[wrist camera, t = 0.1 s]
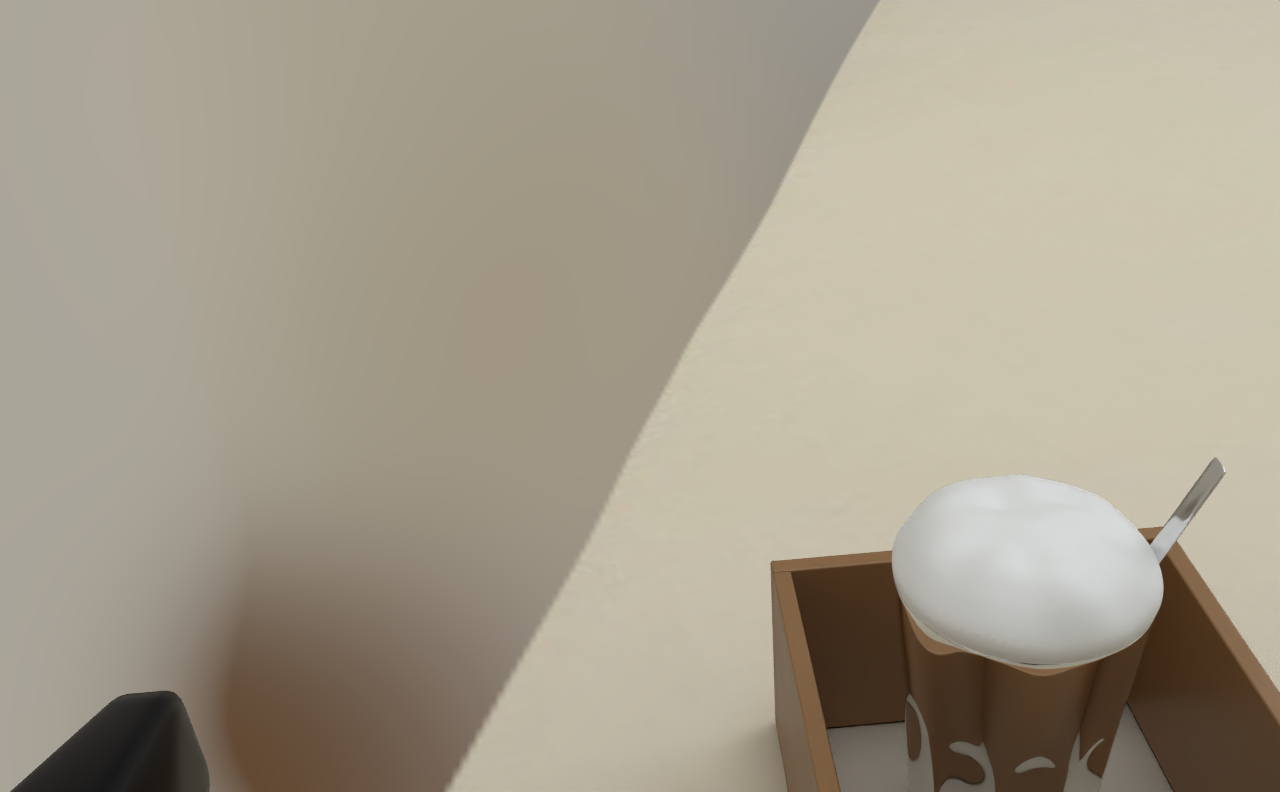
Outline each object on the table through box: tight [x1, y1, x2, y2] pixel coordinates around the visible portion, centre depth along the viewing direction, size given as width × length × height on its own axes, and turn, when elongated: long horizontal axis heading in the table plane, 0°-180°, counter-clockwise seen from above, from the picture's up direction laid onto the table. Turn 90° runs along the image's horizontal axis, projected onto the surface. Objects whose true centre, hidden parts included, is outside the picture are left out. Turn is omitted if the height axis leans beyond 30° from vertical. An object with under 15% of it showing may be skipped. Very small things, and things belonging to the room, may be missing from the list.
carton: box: [771, 527, 1280, 792], centre depth 24 cm, size 9×9×5 cm
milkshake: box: [892, 458, 1226, 792], centre depth 23 cm, size 4×5×10 cm
